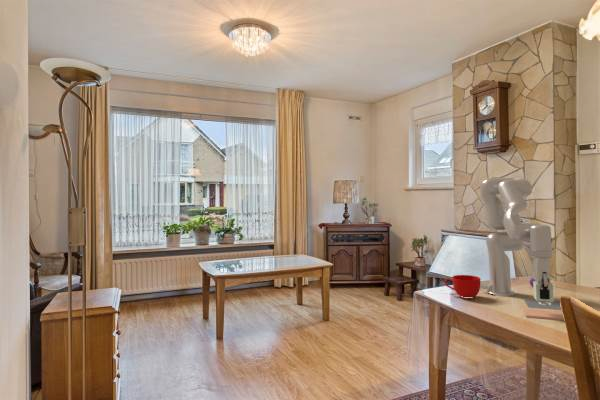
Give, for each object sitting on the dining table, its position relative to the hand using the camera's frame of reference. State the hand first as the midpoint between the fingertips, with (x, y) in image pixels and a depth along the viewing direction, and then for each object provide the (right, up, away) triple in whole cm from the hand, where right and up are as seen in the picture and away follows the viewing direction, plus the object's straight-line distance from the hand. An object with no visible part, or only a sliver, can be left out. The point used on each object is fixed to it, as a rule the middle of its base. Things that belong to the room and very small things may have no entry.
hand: (543, 296), depth 151 cm
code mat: (+11, -8, +13) cm, 18 cm away
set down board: (0, -8, 0) cm, 8 cm away
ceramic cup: (-19, -9, +32) cm, 38 cm away
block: (0, -1, 0) cm, 1 cm away
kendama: (+31, -8, +51) cm, 60 cm away
